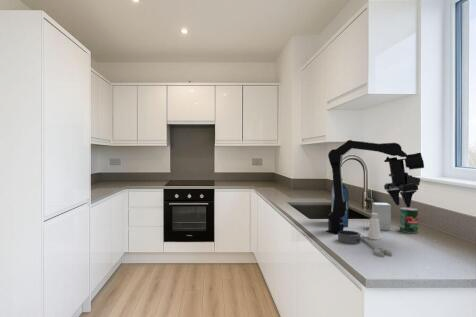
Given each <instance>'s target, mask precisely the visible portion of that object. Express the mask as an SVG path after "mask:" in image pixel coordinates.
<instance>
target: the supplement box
mask: <svg viewBox="0 0 476 317" xmlns="http://www.w3.org/2000/svg"><path fill="white" fill-rule="evenodd" d="M371 206H372V207H371V213H377V214H378V218H377V219H379V226H380V231H391V229H392V228H391V227H392V226H391V225H392V204H389V203H388V202H372V203H371Z"/></svg>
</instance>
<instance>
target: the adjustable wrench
mask: <svg viewBox="0 0 476 317" xmlns="http://www.w3.org/2000/svg"><path fill="white" fill-rule="evenodd" d="M360 241H362V242H363V243H364V244H366V245H367V246H368V247H370V248H371V249H372V250H373V255H374V256H377V257H381V258H385V255H387V256H389V257H392V256H393V254H392V253H393V252H392V250H391V249H390V248H389V249H388V248H384V247H381V246H379V245H378V244H377V243H375V242H374V241H373V240H372V239H370V238H368V236H366V235H365V236H364V235H363V236H362V235H360ZM384 253H385V254H384Z"/></svg>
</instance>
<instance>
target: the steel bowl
mask: <svg viewBox="0 0 476 317" xmlns="http://www.w3.org/2000/svg"><path fill="white" fill-rule="evenodd" d="M360 236H362V235H361V233H360V232H359V231H355V230H345V229H343V231H339V232H338V234H337V241H338V242H339V243H343V244H346V245H357V244H360V243H361V239H360Z"/></svg>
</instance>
